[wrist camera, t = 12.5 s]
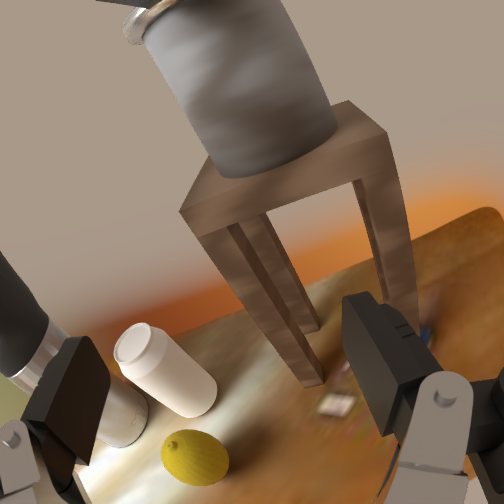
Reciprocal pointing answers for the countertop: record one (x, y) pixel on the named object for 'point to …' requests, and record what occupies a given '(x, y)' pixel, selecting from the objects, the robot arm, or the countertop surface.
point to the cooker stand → (275, 161)
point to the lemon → (195, 457)
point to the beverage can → (165, 370)
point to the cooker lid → (142, 16)
